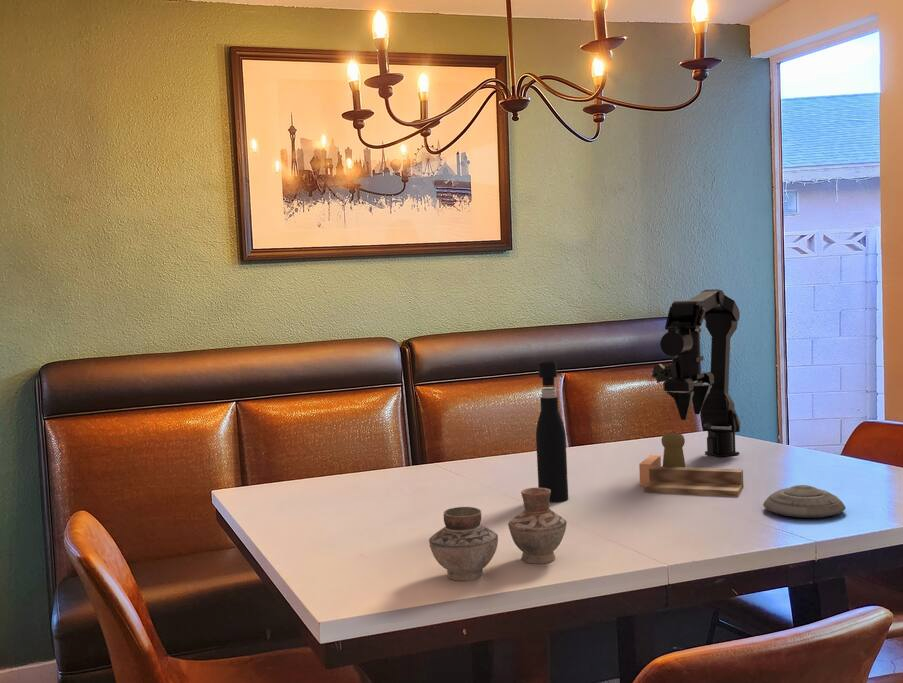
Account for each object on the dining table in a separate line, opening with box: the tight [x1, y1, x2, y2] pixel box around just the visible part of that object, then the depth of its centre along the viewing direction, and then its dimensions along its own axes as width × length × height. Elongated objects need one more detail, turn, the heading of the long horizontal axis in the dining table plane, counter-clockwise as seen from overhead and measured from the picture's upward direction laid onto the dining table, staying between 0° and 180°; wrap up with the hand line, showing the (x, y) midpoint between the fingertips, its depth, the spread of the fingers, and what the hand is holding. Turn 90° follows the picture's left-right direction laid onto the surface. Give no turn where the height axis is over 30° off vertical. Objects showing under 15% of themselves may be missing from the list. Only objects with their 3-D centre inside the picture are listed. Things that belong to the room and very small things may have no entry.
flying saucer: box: [762, 484, 846, 519], centre depth 177 cm, size 15×15×6 cm
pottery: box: [428, 487, 568, 582], centre depth 151 cm, size 11×25×12 cm, turn 119°
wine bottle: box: [535, 360, 569, 504], centre depth 197 cm, size 6×6×30 cm
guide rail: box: [638, 454, 745, 498], centre depth 204 cm, size 22×17×5 cm
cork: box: [661, 432, 687, 467], centre depth 210 cm, size 6×6×11 cm
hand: (690, 416), depth 220 cm, fingers open, 9 cm apart
